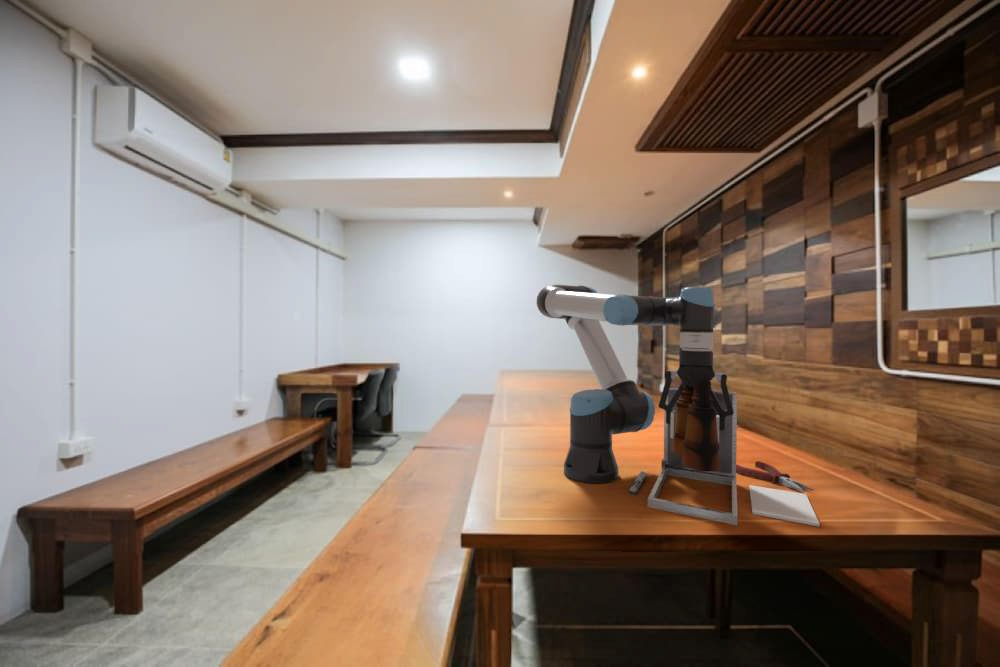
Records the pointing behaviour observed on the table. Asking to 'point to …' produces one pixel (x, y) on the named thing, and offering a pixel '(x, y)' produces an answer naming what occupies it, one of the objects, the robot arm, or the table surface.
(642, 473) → the rod
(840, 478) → the table surface
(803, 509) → the mat
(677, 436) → the binoculars
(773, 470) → the pliers
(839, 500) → the table surface
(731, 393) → the case
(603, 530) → the table surface
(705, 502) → the table surface
